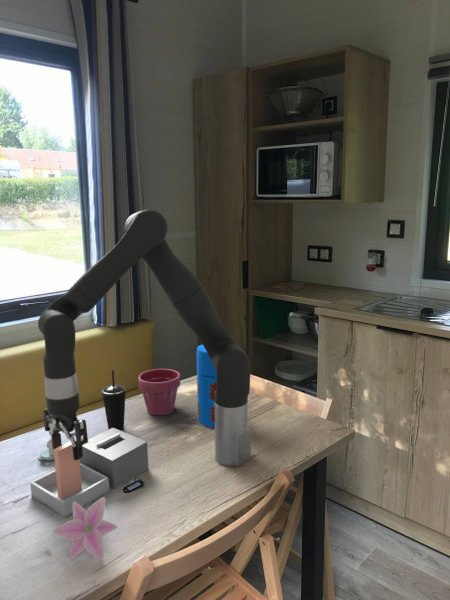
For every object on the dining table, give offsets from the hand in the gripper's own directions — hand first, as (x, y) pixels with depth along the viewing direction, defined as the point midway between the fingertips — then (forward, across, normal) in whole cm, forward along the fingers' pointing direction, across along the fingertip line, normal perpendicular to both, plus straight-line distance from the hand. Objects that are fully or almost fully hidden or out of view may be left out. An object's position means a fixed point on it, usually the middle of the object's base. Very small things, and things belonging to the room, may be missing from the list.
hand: (67, 453), depth 122 cm
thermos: (+12, -3, -54) cm, 55 cm away
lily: (+12, -19, +9) cm, 24 cm away
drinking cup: (+12, +18, -30) cm, 37 cm away
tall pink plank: (+11, 0, 0) cm, 11 cm away
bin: (+11, 0, 0) cm, 11 cm away
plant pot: (+12, +17, -49) cm, 53 cm away
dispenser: (+11, 0, -14) cm, 18 cm away
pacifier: (+12, +20, -8) cm, 25 cm away
